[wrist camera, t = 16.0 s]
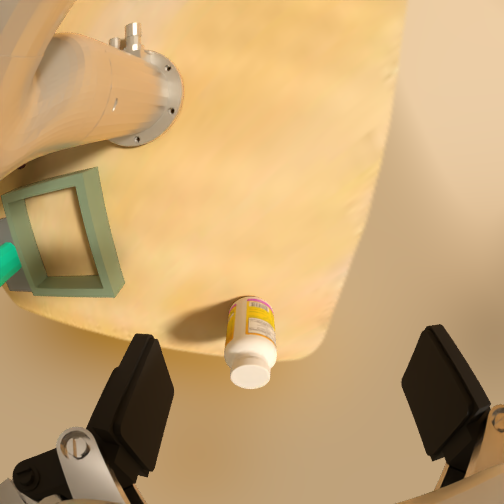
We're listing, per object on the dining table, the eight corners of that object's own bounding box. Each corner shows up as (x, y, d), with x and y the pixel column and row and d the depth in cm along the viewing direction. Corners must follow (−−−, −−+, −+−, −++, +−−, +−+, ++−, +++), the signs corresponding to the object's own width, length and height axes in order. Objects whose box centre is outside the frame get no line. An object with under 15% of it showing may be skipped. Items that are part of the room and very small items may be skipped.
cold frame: (16, 188, 34) (0, 195, 31) (97, 166, 34) (82, 172, 30) (45, 283, 42) (33, 295, 39) (125, 283, 41) (115, 297, 38)
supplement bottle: (239, 333, 45) (234, 397, 34) (222, 301, 42) (211, 366, 31) (279, 322, 44) (285, 387, 32) (265, 288, 41) (267, 353, 30)
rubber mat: (-13, 222, 37) (-15, 223, 37) (17, 214, 36) (15, 215, 36) (11, 289, 43) (10, 290, 43) (43, 290, 43) (41, 291, 43)
